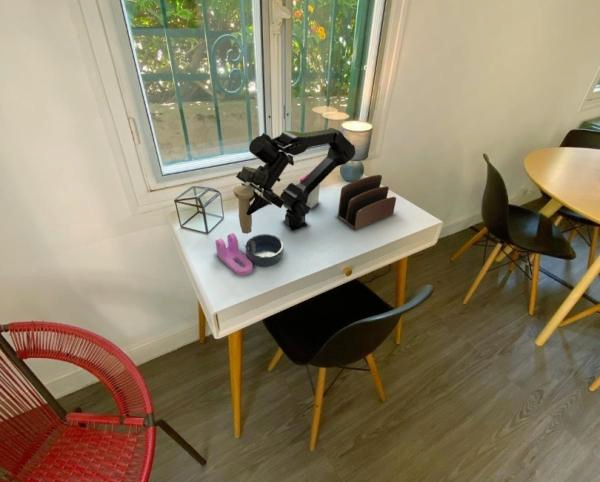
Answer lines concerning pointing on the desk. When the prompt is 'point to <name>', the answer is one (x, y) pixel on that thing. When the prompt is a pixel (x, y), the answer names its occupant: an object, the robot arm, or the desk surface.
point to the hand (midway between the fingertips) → (243, 211)
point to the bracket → (233, 255)
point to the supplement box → (312, 196)
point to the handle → (244, 207)
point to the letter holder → (365, 202)
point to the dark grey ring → (264, 250)
